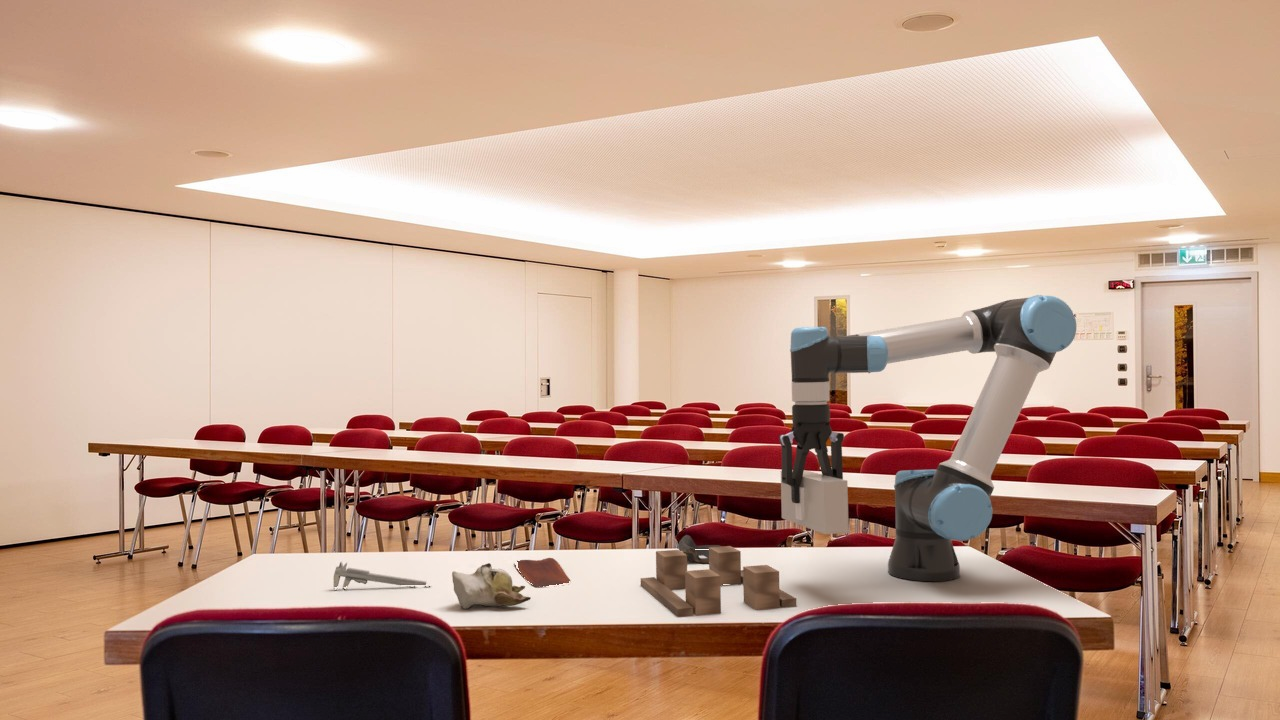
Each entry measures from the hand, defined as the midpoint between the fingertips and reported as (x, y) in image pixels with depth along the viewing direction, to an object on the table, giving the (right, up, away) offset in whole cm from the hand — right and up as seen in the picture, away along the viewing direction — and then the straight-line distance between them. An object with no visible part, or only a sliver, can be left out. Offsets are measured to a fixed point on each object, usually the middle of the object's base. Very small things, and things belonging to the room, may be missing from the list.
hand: (813, 518), depth 187 cm
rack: (-20, -16, +1) cm, 25 cm away
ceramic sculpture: (-65, -17, -5) cm, 67 cm away
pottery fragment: (-20, -16, +37) cm, 45 cm away
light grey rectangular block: (0, -1, 0) cm, 1 cm away
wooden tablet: (-57, -17, +23) cm, 64 cm away
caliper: (-90, -17, +10) cm, 92 cm away
